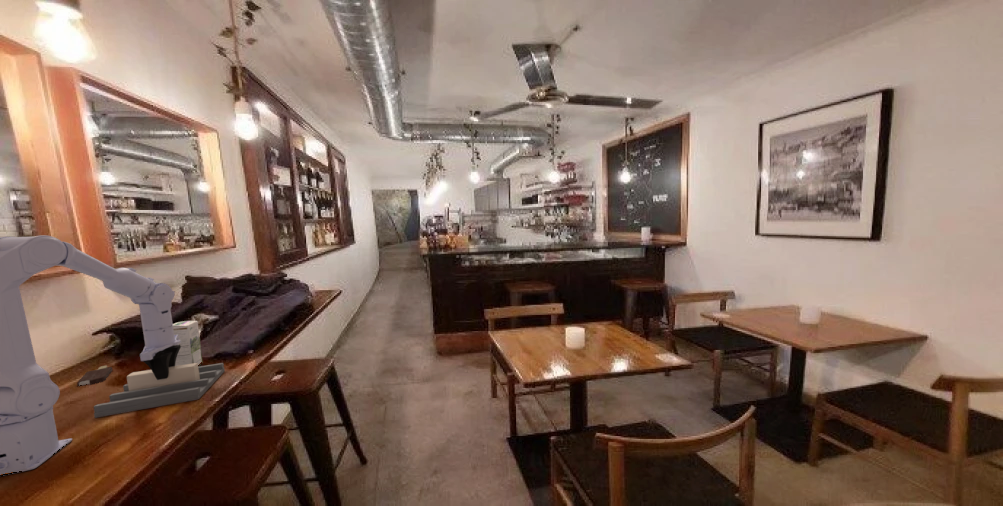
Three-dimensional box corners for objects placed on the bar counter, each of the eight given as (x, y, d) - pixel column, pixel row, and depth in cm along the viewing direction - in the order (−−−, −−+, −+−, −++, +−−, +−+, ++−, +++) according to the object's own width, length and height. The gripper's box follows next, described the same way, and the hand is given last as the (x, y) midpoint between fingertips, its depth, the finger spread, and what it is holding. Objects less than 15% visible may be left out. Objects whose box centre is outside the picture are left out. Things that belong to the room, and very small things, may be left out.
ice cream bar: (92, 371, 112) (77, 388, 100) (91, 366, 111) (76, 383, 100) (116, 366, 115) (104, 382, 103) (115, 361, 115) (103, 377, 103)
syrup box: (181, 366, 112) (175, 322, 111) (203, 363, 114) (197, 319, 112) (171, 373, 107) (164, 327, 105) (194, 370, 109) (188, 324, 107)
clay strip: (200, 379, 99) (197, 362, 98) (196, 383, 97) (193, 366, 96) (135, 390, 94) (132, 372, 93) (129, 394, 92) (126, 376, 91)
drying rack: (198, 399, 91) (197, 389, 90) (94, 417, 83) (92, 407, 83) (224, 371, 107) (223, 362, 107) (139, 384, 100) (138, 375, 100)
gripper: (162, 333, 88) (170, 384, 90) (189, 318, 102) (195, 363, 103) (125, 338, 86) (134, 390, 87) (158, 321, 99) (165, 367, 101)
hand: (165, 376), depth 95 cm, fingers closed on clay strip, 2 cm apart
